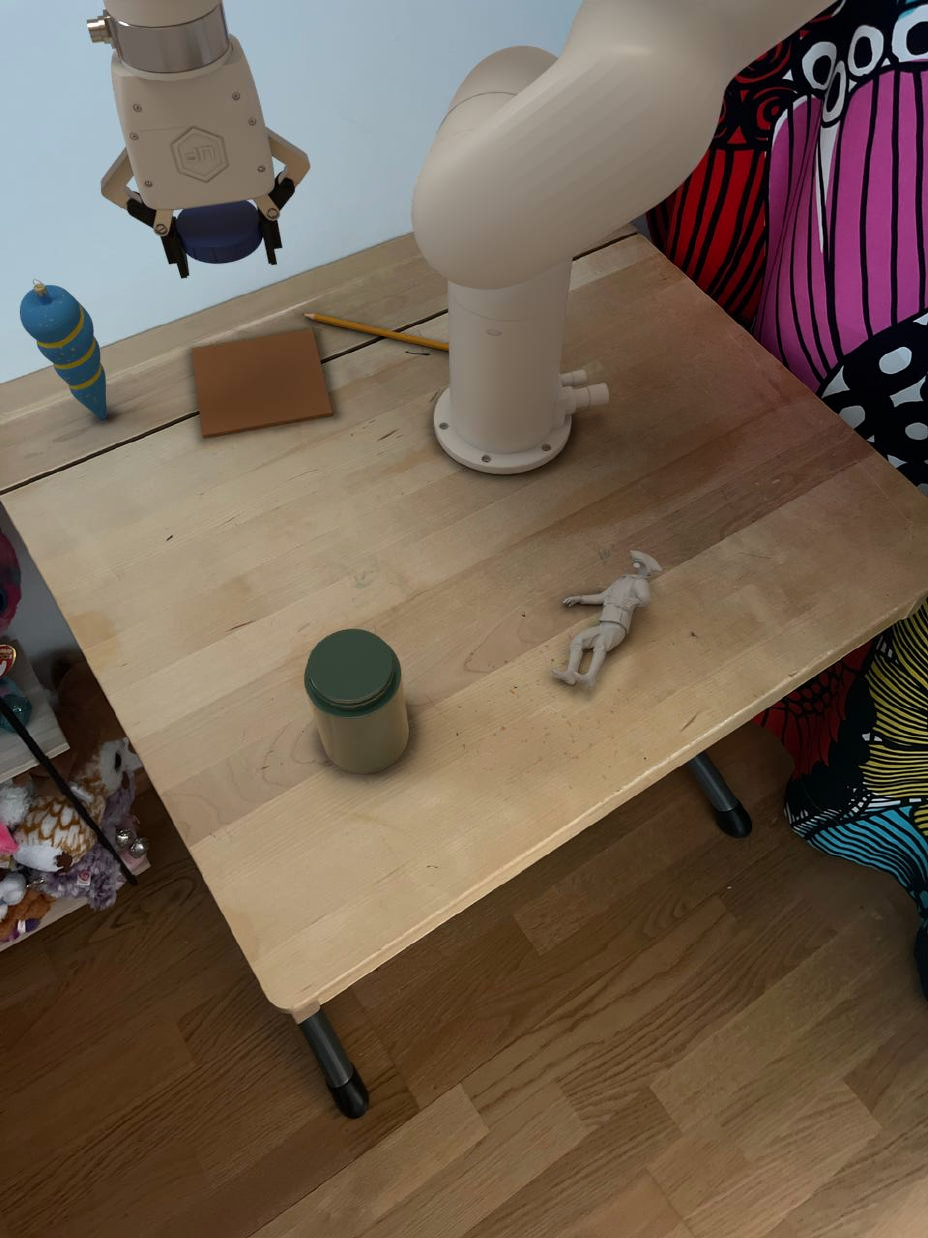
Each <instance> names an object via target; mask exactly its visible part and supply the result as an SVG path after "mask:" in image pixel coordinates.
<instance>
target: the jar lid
mask: <svg viewBox="0 0 928 1238" xmlns="http://www.w3.org/2000/svg"><path fill="white" fill-rule="evenodd" d="M176 228H177V232H178V235H179V240H180V243H181V247H182V250H184V251H185V253H186V254H187V257H190V258H191V259H192V260H195V261H197V262H201V263H204V264H211V265H223V264H230V263H235V262H238V261H240V260H243V259H245V258H247V257H249V256H250V255H252V254H253V253H255V252H257V251H256V250H257V249H259V247H260V246H261V244H262V241H263V240H264V239H263V234H262V229H261V225H260V220H259V215H258V210H257V206H255V204H253V203H252V202H250V200H246V201H239V202H232V203H225V204H218V205H211V206H204V207H196V208H189V209H181V211H179V213H178V215H177V216H176Z"/></svg>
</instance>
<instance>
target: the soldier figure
mask: <svg viewBox="0 0 928 1238" xmlns="http://www.w3.org/2000/svg"><path fill="white" fill-rule="evenodd" d="M629 552H630V554H631V557H632V558H631V559H632V564H633V567H634V569H635V570H636V572H637V574H633V573H625V574H623V575H620V578H618V579H616V580H615V581H614V582H613V583H611V584H610V586H609V587H608V588H606V589H605V590H604V591H602V592H600V593H595V594H588V595H587V594H585V595H582V594H581V595H576V596H569V597H567V598H565V599H564V600H563V601H562V604H568V603H570V604H569V605H568V607H571V606H573V605H576V604H577V603H578V602H579V603H580V604H581V605H602V608H603V609H602V611H601V615H600V617H599V619H598V621H599V623H600V624H599V625H596V626H591V627H588V628H586V629H584V630H582V631H580V632H579V633H577V634H576V635H575V636H574V637H573V639H572V641H571V644H570V646H569V648H568V650H569V661H568V665H567V670H563V671H560V670H558V669H556V668H553V669H551V673H552V675H553V677H555V678H557V679H559V680H563V681H564V682H565V683H566V684H568V685H572V686H573V685H574V686H575V684H576V682H577V683H582V684H584V686H585V687H587V688H589V689H594V688H595V685H596V683H597V680H596V679H597V675H598V673H599V671H600V669H601V667H602V665H603V664H604V661H605V660H606V659H605V658H606V655H607V654H606V653H607V652H609V651H611V650H612V649H613V648H615V647H617V646H618V645H620V644H621V642H622V641H623V640H624V639H625V637H626V636H628V634H629V631H630V628H631V625H632V624H631V623H632V618H633V614H634V610H635V609H636V607H638V608H639V607H640V608H645V607H649V605H650V604H651V586H650V584H649V581H648V580H647V579H650V578H651V577H652V574H653V573H655V572H663V568H662V567H661V566H660V564H659V563H658V561H657V560H656V559H655V558H654V557H652V556H650V555H649V554H647V553H644V551H643V552H642V551H638V550H632V549H630V550H629ZM584 649H585V650H587V649H592V652H593V655H592V659H591V661H590V665H589V669H588V671H587V672H586V673H584V674H580V673H579V666H580V664H581V660H582V657H583V655H584V652H583V650H584Z"/></svg>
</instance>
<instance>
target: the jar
mask: <svg viewBox="0 0 928 1238" xmlns="http://www.w3.org/2000/svg"><path fill="white" fill-rule="evenodd" d="M303 683H304V690H305V693H306V696H307V699H308V702H309V705H310V708H311V712H312V715H313V718H314V722H315V725H316V728H317V731H318V734H319V737H320V740H321V743H322V747H323V749H324V752H325V754H326V756H327V757H328V759H329V760H330V761H331V762H332V763H333V764H334V765H335V766H337V767H338V768H339V769H341V770H343V771H345V772H348V773H351V774H356V775H357V774H358V775H369V774H375V773H379V772H381V771H383V770H385V769H387V768H389V767H391V766H392V765H393V764H395V762H397V761H398V760H399V758H400V757H401V756H402V755H403V753H404V751H405V750H406V747H407V745H408V742H409V736H410V729H409V720H408V719H409V718H408V713H407V705H406V704H407V703H406V696H405V689H404V680H403V672H402V666H401V661H400V659H399V657H398V655H397V654H396V652H395V650H394V649H393V648H392V647H391V646H390V645H389V644H388V643H387V642H385V640H383V639H382V638H381V637H380V636H378V635H377V634H375V633H374V632H371V631H368V630H366V629H361V628H346V629H341V630H338V631H335V632H332V633H330V634H329V635H326V636H325V637H324V638H323V639H321V640H319V642H317V644H316V645H315V646H314V648H313V649H312V650H311V651H310V654H309V656H308V659H307V663H306V666H305V669H304V674H303Z"/></svg>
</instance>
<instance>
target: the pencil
mask: <svg viewBox="0 0 928 1238" xmlns="http://www.w3.org/2000/svg"><path fill="white" fill-rule="evenodd" d="M301 315H302V316H304V317H306V318H307V317H308V318H309V319H310V320H313V321H316V322H319V323H320V322H321V323H323V324H324V323H325V324H328V325H329V324H330V325H333V326H336V327H337V326H338V327H342V328H346V329H350V330H354V331H355V330H356V331H359V332H364V333H369V334H373V335H378V336H382V337H385V338H389V339H390V338H391V339H395V340H398V341H403V342H407V343H411V344H416V345H420V346H425V347H430V348H434V349H437V350H442V351H447V352H449V343H446V342H442V341H437V340H434V339H433V340H432V339H427V338H423V337H419V336H415V335H411V334H406V333H401V332H397V331H392V330H389V329H384V328H379V327H375V326H371V325H366V324H362V323H358V322H354V321H349V320H345V319H340V318H336V317H331V316H328V315H327V316H326V315H323V314H318V313H301Z"/></svg>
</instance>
